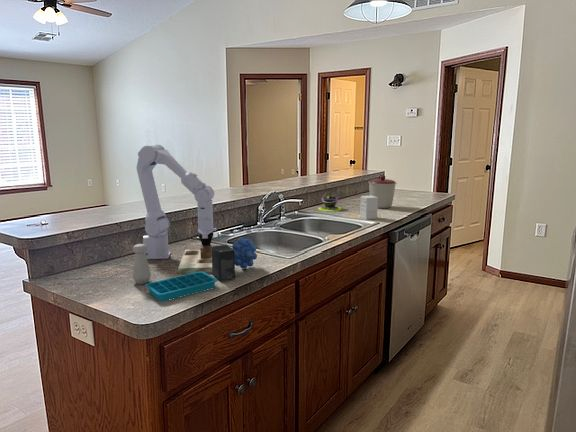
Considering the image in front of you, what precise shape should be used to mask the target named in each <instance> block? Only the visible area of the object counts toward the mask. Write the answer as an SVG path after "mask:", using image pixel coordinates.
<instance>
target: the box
mask: <svg viewBox="0 0 576 432" xmlns="http://www.w3.org/2000/svg"><path fill="white" fill-rule="evenodd" d="M234 251H235V250H234V249H233V247H232V246H229V245H227V244H221V245H220V244H219V245H212V273H211V274H212V277H214V278H216V279H217V281H219V282H223V281H224V280H226V281H230V280H229V279H231V280H235V279H236V268H235V267H236V265H235V252H234ZM234 278H235V279H234Z"/></svg>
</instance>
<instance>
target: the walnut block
mask: <svg viewBox="0 0 576 432" xmlns="http://www.w3.org/2000/svg"><path fill="white" fill-rule="evenodd" d="M212 246H213V245H202V244H201V245H200V249H199V250H200V253H201V258H211V257H212Z"/></svg>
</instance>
